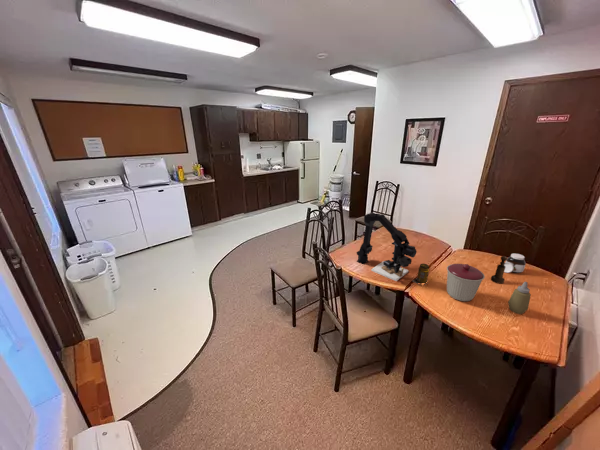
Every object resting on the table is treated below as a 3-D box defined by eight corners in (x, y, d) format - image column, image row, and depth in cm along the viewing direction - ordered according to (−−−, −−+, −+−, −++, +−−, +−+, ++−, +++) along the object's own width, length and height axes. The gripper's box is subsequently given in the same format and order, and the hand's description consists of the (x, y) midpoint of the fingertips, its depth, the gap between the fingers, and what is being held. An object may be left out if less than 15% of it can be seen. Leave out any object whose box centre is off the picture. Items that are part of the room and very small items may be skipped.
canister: (436, 286, 152) (442, 257, 144) (465, 286, 151) (473, 256, 144) (452, 305, 135) (460, 273, 128) (485, 305, 134) (495, 273, 127)
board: (371, 270, 172) (371, 264, 170) (383, 262, 182) (384, 256, 181) (396, 281, 158) (397, 274, 157) (408, 271, 169) (409, 265, 167)
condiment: (429, 282, 157) (432, 265, 153) (422, 286, 153) (425, 270, 148) (419, 277, 163) (421, 261, 159) (411, 281, 158) (414, 265, 154)
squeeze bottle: (502, 306, 133) (511, 278, 127) (516, 305, 134) (525, 277, 128) (515, 316, 126) (526, 287, 120) (530, 315, 126) (541, 286, 120)
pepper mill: (501, 279, 158) (508, 254, 151) (505, 284, 152) (513, 259, 146) (489, 277, 160) (496, 253, 154) (492, 282, 154) (500, 257, 148)
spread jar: (523, 270, 166) (528, 255, 162) (522, 277, 159) (527, 262, 154) (500, 265, 174) (505, 250, 170) (499, 271, 166) (503, 256, 162)
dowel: (400, 273, 166) (401, 268, 164) (401, 272, 166) (402, 267, 165) (402, 273, 165) (403, 268, 163) (403, 273, 166) (403, 268, 164)
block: (381, 268, 172) (381, 264, 171) (389, 265, 175) (390, 261, 174) (396, 277, 160) (397, 273, 159) (405, 274, 163) (405, 270, 162)
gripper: (396, 260, 146) (393, 282, 152) (419, 254, 153) (416, 275, 158) (383, 252, 156) (381, 273, 161) (405, 247, 163) (403, 268, 168)
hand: (396, 272), depth 162 cm, fingers closed
